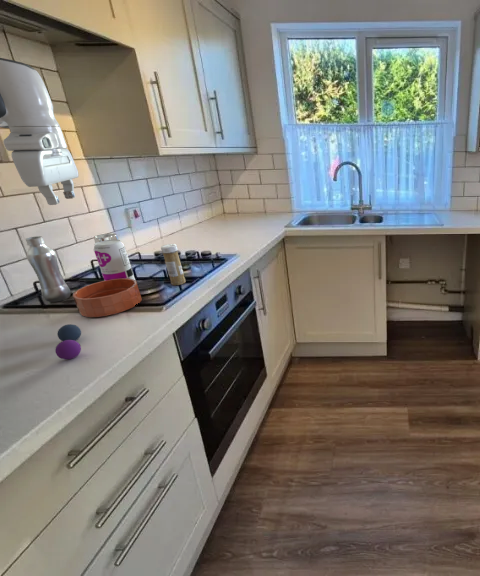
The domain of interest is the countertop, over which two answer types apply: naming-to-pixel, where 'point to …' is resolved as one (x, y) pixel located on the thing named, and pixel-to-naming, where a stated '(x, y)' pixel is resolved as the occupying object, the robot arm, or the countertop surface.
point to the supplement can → (113, 260)
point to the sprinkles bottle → (173, 264)
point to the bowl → (107, 297)
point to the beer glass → (105, 237)
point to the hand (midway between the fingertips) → (63, 201)
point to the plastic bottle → (47, 270)
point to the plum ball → (68, 349)
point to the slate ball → (69, 332)
